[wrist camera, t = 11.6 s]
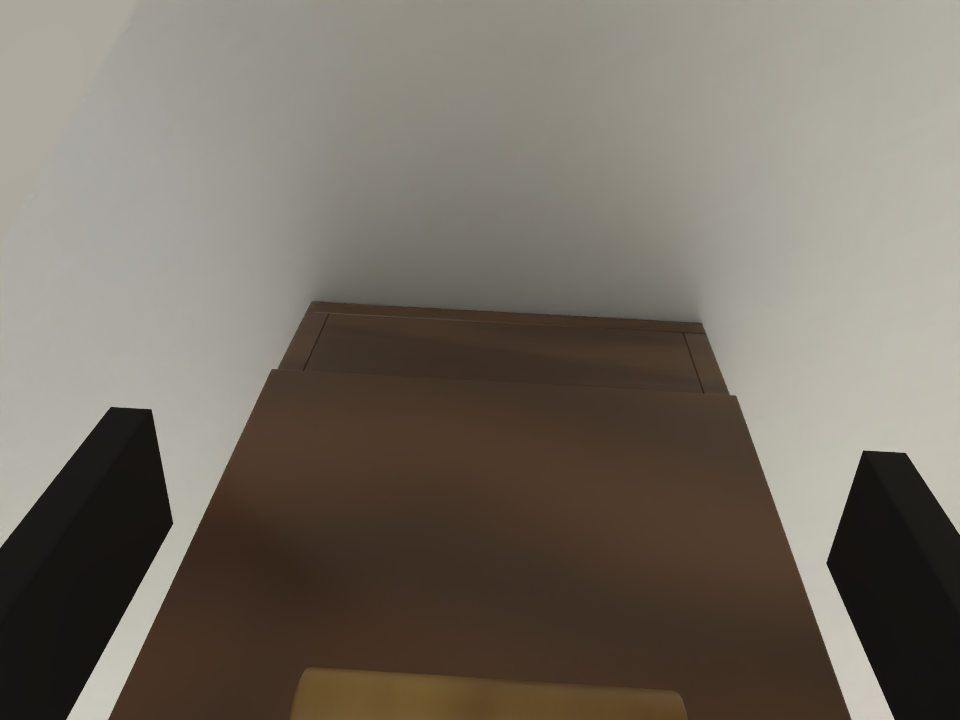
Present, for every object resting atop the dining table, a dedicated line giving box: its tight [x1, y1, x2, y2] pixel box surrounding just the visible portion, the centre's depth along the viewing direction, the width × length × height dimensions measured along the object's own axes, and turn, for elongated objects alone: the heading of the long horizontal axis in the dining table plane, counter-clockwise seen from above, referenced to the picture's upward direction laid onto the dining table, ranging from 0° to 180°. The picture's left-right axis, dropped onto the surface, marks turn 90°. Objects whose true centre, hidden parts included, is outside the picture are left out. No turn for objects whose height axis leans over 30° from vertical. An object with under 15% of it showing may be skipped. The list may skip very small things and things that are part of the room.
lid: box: [108, 369, 851, 720], centre depth 21 cm, size 20×17×7 cm
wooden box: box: [278, 302, 730, 395], centre depth 39 cm, size 19×17×6 cm
